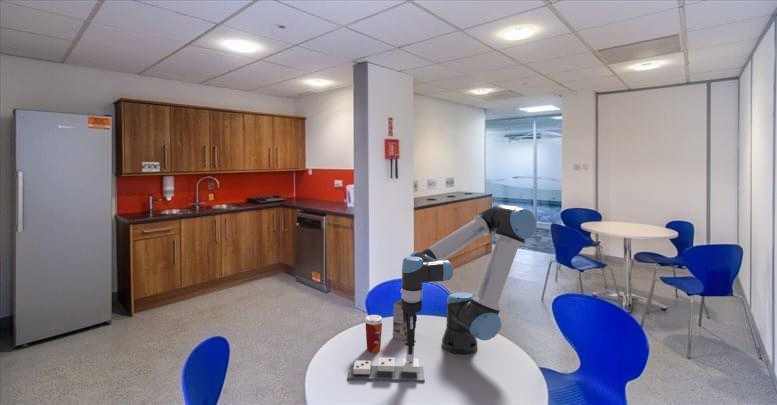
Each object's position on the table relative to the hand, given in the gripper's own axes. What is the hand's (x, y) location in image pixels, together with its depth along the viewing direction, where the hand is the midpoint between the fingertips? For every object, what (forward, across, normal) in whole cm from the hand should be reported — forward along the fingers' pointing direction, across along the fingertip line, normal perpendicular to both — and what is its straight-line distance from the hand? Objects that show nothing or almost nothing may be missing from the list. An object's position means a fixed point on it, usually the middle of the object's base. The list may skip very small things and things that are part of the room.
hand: (409, 360), depth 143 cm
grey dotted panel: (+6, 0, -9) cm, 10 cm away
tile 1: (+3, 0, 0) cm, 3 cm away
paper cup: (+6, -19, -15) cm, 25 cm away
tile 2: (+3, 0, -9) cm, 9 cm away
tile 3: (+4, 0, -18) cm, 18 cm away
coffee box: (+6, -33, -2) cm, 34 cm away
